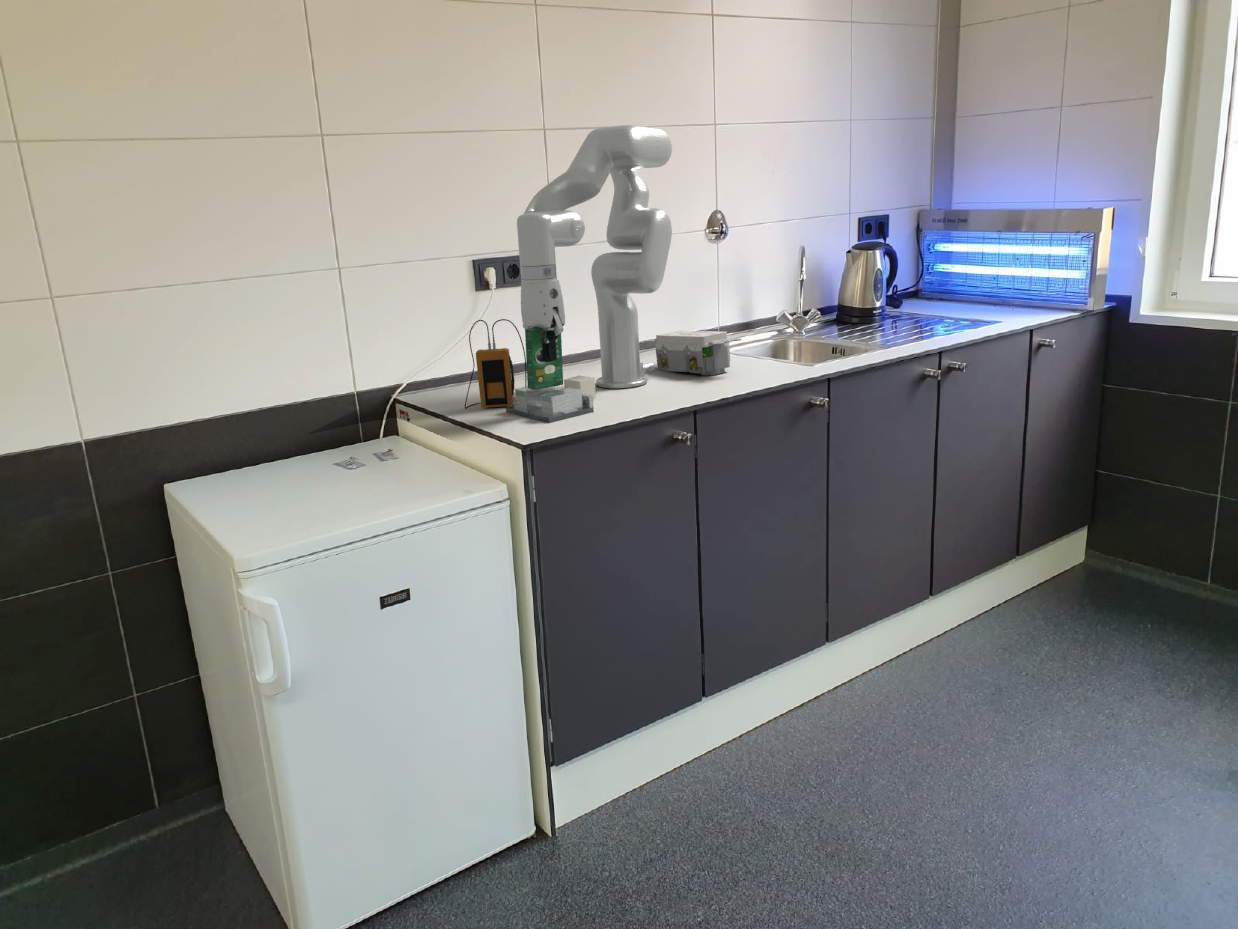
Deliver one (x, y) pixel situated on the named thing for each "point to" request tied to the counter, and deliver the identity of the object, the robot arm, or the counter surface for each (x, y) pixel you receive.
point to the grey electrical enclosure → (693, 351)
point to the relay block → (582, 384)
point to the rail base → (551, 403)
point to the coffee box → (542, 361)
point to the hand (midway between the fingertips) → (545, 359)
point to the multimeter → (494, 374)
